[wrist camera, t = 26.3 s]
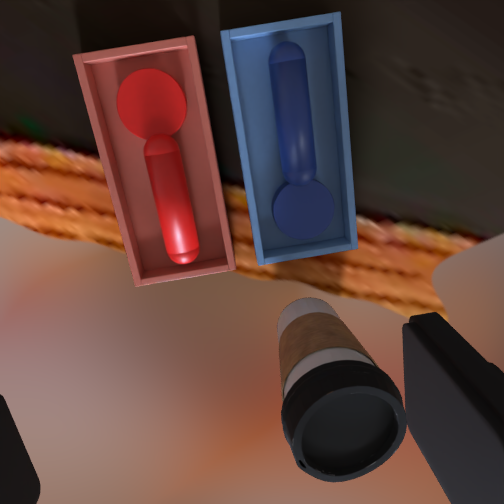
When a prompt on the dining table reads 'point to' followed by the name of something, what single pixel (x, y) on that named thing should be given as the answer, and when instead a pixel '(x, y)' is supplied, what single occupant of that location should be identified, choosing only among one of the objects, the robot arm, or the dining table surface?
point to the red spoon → (162, 153)
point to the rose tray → (134, 166)
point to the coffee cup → (334, 396)
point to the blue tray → (265, 132)
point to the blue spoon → (296, 148)
